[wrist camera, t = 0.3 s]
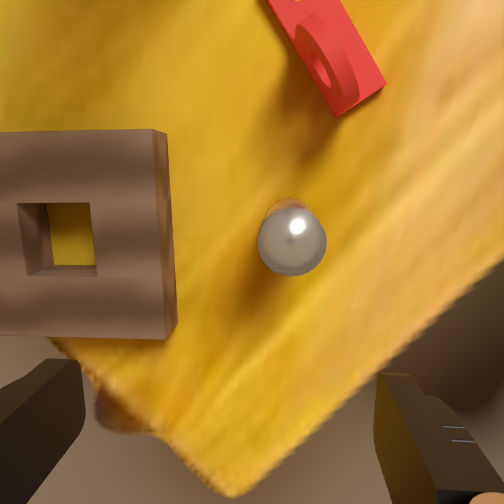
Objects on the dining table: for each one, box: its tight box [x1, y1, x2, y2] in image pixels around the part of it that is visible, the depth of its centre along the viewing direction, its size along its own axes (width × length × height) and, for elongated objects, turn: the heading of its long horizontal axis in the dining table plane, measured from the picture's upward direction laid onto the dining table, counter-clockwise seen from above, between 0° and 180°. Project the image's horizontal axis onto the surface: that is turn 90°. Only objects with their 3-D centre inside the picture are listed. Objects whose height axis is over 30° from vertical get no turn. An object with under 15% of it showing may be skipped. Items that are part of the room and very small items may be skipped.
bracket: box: [266, 0, 387, 118], centre depth 27 cm, size 12×4×8 cm, turn 34°
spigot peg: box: [258, 198, 326, 276], centre depth 29 cm, size 4×4×10 cm
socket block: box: [0, 129, 178, 340], centre depth 34 cm, size 18×18×4 cm
